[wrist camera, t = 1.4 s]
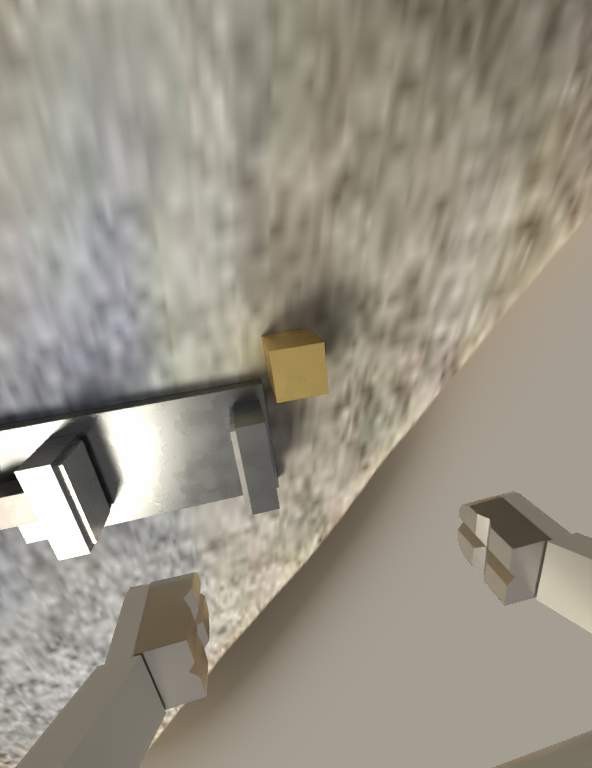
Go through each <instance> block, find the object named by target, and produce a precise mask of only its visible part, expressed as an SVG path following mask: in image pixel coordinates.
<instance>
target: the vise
mask: <svg viewBox="0 0 592 768" xmlns="http://www.w3.org/2000/svg"><path fill="white" fill-rule="evenodd" d="M72 434H77V436H78V438H79V441H80V440H83V443H84V445H85V448H86V450H87V453H88V455H89V458H90V460H91V463H92V465H93V468H94V470H95V473H96V475H97V478H98V480H99V483H100V485H101V488H102V490H103V493H104V495H105V498H106V501H107V503H108V506H109V508H110V511H111V512H110V514H109V516H108V518H107V521H106V523H105V525H104V526H108V525H112V524H117V523H121V522H126V521H130V520H135V519H139V518H144V517H148V516H152V515H157V514H161V513H166V512H170V511H175V510H179V509H184V508H188V507H192V506H197V505H201V504H206V503H210V502H215V501H219V500H224V499H228V498H233V497H237V496H241V495H243V496H244V500H245V505H246V508H248V507H251V508H252V513H253V515H254V514H258V513H262V512H267V511H271V510H275V509H280V508H279V502H278V496H277V490H276V488H277V487H279V484H278V478H277V471H276V465H275V459H274V453H273V447H272V441H271V435H270V429H269V423H268V417H267V411H266V404H265V398H264V392H263V386H262V382H261V379H258V380H253V381H247V382H241V383H236V384H230V385H224V386H219V387H213V388H207V389H202V390H196V391H190V392H185V393H179V394H174V395H168V396H162V397H157V398H151V399H145V400H140V401H134V402H128V403H123V404H117V405H111V406H106V407H100V408H95V409H89V410H83V411H78V412H72V413H66V414H61V415H55V416H49V417H44V418H38V419H32V420H27V421H21V422H16V423H10V424H4V425H0V483H3V482H8V481H13V480H18V479H17V477H16V475H15V473H14V472H15V471H16V470H17V469H18V468H19V467H20V465H21V464H22V463H23V462H24V461H25V460H26V459H27V458H28V457H29V456H30V455H31V454H32V453H33V452H34V451H35V450H36V449H37V448H38V447H39V446H40V445H41V444H42V443H43V442H44V441H45V440H46V439H51V438H56V437H61V436H67V435H72ZM18 527H19V529H20V531H21V533H22V535H23V537H24V539H25V541H26V542H27V544H28V543H32V542H37V541H41V540H46V539H48V538H47V536H46V534H45V532H44V530H43V528H42V526H41V524H40V522H39V521H38V522H34V523H29V524H24V525H20V526H18Z"/></svg>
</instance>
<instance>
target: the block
mask: <svg viewBox="0 0 592 768" xmlns="http://www.w3.org/2000/svg"><path fill="white" fill-rule="evenodd" d="M262 342H263V349H264V355H265V362H266V368H267V374H268V380H269V383H270V386H271V388H272V391H273V394H274V397H275V399H276V402H277V403H281V402H286V401H291V400H297V399H302V398H307V397H313V396H318V395H323V394H329V391H328V380H327V369H326V357H325V346H324V342H323V341H322V340H321V339H319V338H318V337H317V336H316V335H315V334H313V333H312V332H311V331H310V330H309V329H302V330H295V331H289V332H283V333H277V334H270V335H264V336H262Z"/></svg>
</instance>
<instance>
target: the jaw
mask: <svg viewBox="0 0 592 768" xmlns="http://www.w3.org/2000/svg"><path fill="white" fill-rule="evenodd" d="M14 473H15V475H16V477H17V479H18V480H13V481H8V482H3V483H0V530H1V529H6V528H11V527H15V526H20V525H24V524H29V523H34V522H38V521H39V522H40V524H41V526H42V528H43V530H44V532H45V534H46V536H47V538H48V540H49V542H50V544H51V546H52V548H53V550H54V552H55V554H56V556H57V558H58V560H63V559H68V558H72V557H76V556H80V555H85V554H89V553H90V552H91V550H92V548H93V546H94V544H95V543H97V541H98V538H99V536H100V534H101V532H102V529H103V527H104V525H105V523H106V521H107V518H108V516H109V514H110V512H111V511H110V508H109V506H108V503H107V501H106V498H105V495H104V493H103V490H102V488H101V485H100V483H99V480H98V478H97V475H96V473H95V470H94V468H93V465H92V463H91V460H90V458H89V455H88V453H87V450H86V448H85V445H84V443H83V440H80V441H79V438H78V436H77V434H72V435H67V436H61V437H56V438H51V439H46V440H45V441H44V442H43V443H42V444H41V445H40V446H39V447H38V448H37V449H36V450H35V451H34V452H33V453H32V454H31V455H30V456H29V457H28V458H27V459H26V460H25V461H24V462H23V463H22V464H21V465H20V467H19V468H18V469H17V470H16V471H15V472H14Z"/></svg>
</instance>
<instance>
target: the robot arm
mask: <svg viewBox="0 0 592 768" xmlns="http://www.w3.org/2000/svg"><path fill="white" fill-rule="evenodd" d="M459 517H460V518H461V519H462V520H463V523H462V525H461V526H460V527H459V529H458V541H459V545H460V548H461V551H462V552H463V554H464V556H465V558H466V559H467V560H468V562H469V563H470V564H471V566H472V567H474V568H477V569H478V570H480V571H482V572H484V580H485V583H486V584H487V585H488V586H489V588H490V589H491V590H492V591H493V592H494V594H495V595H496V596H497V597H498V598H499V600H500V601H501V602H502V603H503V605H504V606H505V605H508V604H513V603H516V602H520V601H524V600H527V599H531V598H535V597H536V599H537V600H538V601H540V602H541V603H543V604H545V605H546V606H548V607H549V608H551V609H553V610H555V611H556V612H558V613H559V614H561V615H563V616H564V617H566V618H567V619H569V620H571V621H572V622H574V623H576V624H577V625H579V626H581V627H582V628H584V629H585V630H587V631H589V632H590V633H592V538H590V537H587V536H584V535H581V534H579V533H574V534H571V533H569V532H568V531H567V530H566V529H564V528H563V527H562V526H560V525H559V524H558V523H557V522H555V521H554V520H553V519H551V518H550V517H549V516H548V515H546V514H545V513H543V511H541V510H540V509H539V508H537V507H536V506H535V505H533V504H532V503H531V502H530V501H528V500H527V499H526V498H525V497H523V496H522V495H521V494H519V493H516V492H509V493H505V494H502V495H498V496H495V497H490V498H486V499H482V500H478V501H475V502H471V503H467V504H464V505H462V506H461V508H460V510H459ZM200 585H201V582H200V579H199V577H198V574H197V573H190V574H186V575H181V576H177V577H172V578H168V579H163V580H159V581H155V582H152V583H147V584H143V585H139V586H134V587H130V589H129V590H128V592H127V593H126V595H125V598H124V602H123V605H122V608H121V612H120V615H119V618H118V622H117V625H116V628H115V632H114V635H113V638H112V642H111V645H110V648H109V652H108V655H107V658H106V661H105V664H104V665H101V666H98V667H96V669H95V670H94V671H93V672H92V674H91V675H90V676H89V677H88V679H87V680H86V681H85V682H84V683H83V685H82V686H81V687H80V688H79V690H78V691H77V692H76V693H75V695H74V696H73V697H72V698H71V700H70V701H69V702H68V703H67V704H66V706H65V707H64V708H63V709H62V711H61V712H60V713H59V714H58V716H57V717H56V718H55V719H54V720H53V722H52V723H51V724H50V725H49V727H48V728H47V729H46V730H45V732H44V733H43V734H42V735H41V737H40V738H39V739H38V740H37V741H36V743H35V744H34V745H33V746H32V748H31V749H30V750H29V751H28V753H27V754H26V755H25V756H24V757H23V759H22V760H21V761H20V762H19V764H18V765H17V766H16V767H15V768H139V766H140V764H141V762H142V760H143V758H144V756H145V754H146V752H147V750H148V748H149V746H150V744H151V742H152V740H153V738H154V736H155V734H156V732H157V730H158V728H159V726H160V724H161V722H162V720H163V718H164V716H165V714H166V711H165V710H167V709H170V708H173V707H176V706H179V705H182V704H185V703H188V702H190V701H194V700H197V699H200V698H202V697H205V696H207V675H208V660H207V656H206V653H205V650H204V648H205V646H206V645H207V643H208V641H209V613H208V607H207V602H206V599H205V596H204V595H202V594H200ZM493 768H592V730H591V731H589V732H586V733H583V734H581V735H578V736H575V737H573V738H570V739H567V740H565V741H562V742H559V743H557V744H554V745H551V746H549V747H546V748H543V749H541V750H538V751H536V752H533V753H530V754H528V755H525V756H522V757H520V758H517V759H514V760H512V761H509V762H506V763H504V764H501V765H499V766H496V767H493Z"/></svg>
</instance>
